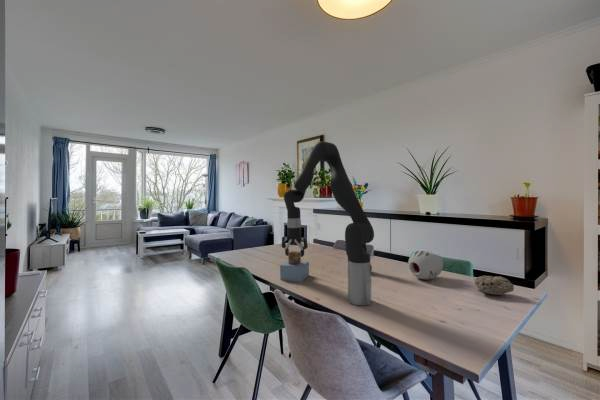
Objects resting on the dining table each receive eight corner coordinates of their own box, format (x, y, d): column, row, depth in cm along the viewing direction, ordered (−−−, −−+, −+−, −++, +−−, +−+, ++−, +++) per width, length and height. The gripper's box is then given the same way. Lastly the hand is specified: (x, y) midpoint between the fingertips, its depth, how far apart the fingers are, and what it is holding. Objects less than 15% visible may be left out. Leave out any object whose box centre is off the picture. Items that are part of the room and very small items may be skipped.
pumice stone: (511, 293, 121) (511, 275, 121) (515, 302, 111) (515, 283, 110) (473, 287, 128) (473, 271, 128) (474, 296, 118) (474, 278, 117)
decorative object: (453, 280, 139) (453, 251, 139) (425, 285, 132) (425, 254, 132) (429, 272, 154) (428, 245, 153) (402, 276, 147) (402, 248, 146)
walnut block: (300, 262, 150) (300, 251, 149) (297, 264, 145) (296, 253, 145) (292, 261, 151) (292, 251, 151) (288, 263, 147) (288, 252, 147)
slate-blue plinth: (308, 275, 152) (308, 261, 152) (301, 282, 141) (301, 266, 141) (289, 273, 156) (288, 259, 156) (280, 280, 145) (280, 265, 145)
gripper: (279, 226, 147) (279, 256, 147) (304, 227, 142) (304, 258, 142) (284, 225, 154) (285, 253, 154) (308, 225, 149) (309, 255, 149)
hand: (294, 256), depth 148 cm, fingers open, 8 cm apart
